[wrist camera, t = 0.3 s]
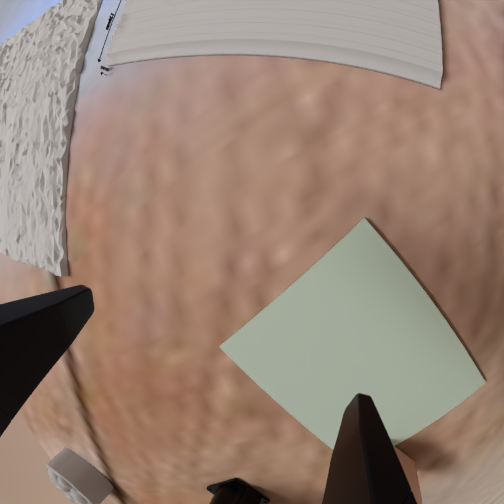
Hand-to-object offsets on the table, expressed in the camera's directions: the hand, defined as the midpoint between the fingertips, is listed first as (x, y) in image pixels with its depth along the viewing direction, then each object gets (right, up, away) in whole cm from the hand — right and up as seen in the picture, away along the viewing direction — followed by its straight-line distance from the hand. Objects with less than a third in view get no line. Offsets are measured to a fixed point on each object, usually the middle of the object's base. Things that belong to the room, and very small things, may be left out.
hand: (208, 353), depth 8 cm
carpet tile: (-33, +21, +22) cm, 45 cm away
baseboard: (+2, +23, +12) cm, 26 cm away
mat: (+11, -7, +14) cm, 19 cm away
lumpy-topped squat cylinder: (-33, -43, +34) cm, 64 cm away
